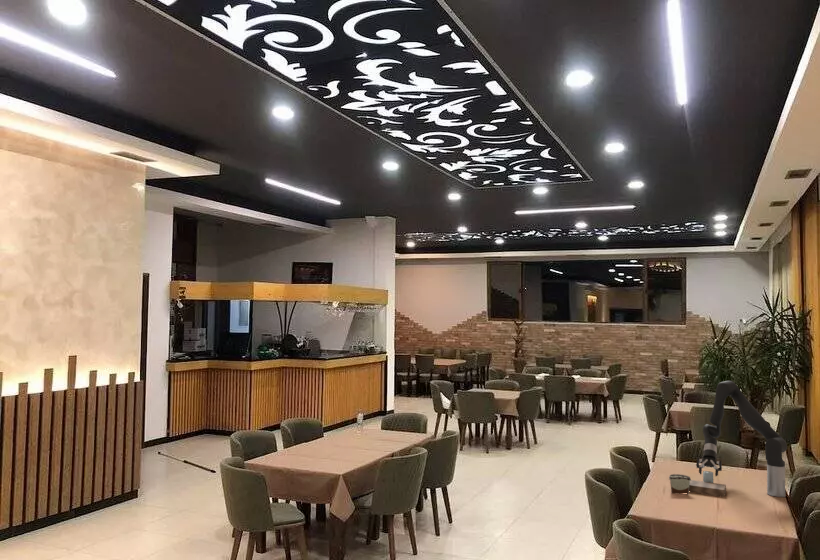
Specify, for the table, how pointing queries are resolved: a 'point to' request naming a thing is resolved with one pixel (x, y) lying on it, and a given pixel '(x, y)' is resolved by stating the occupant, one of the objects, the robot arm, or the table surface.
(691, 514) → the table surface
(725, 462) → the table surface
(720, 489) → the walnut stand
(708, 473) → the ceramic jar
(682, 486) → the food container
